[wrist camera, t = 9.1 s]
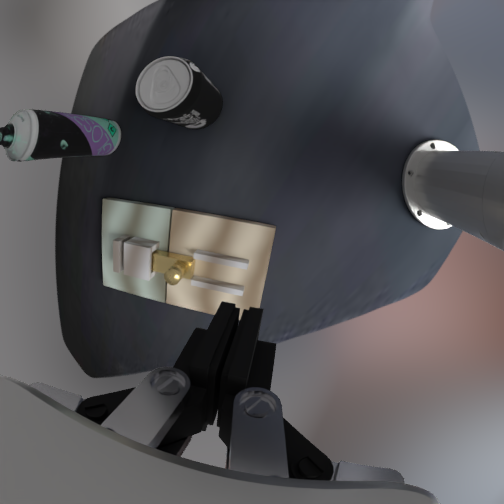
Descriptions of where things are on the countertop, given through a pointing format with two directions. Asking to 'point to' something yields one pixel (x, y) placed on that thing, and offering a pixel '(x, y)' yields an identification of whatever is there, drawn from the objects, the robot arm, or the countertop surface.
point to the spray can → (57, 135)
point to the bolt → (172, 266)
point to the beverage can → (178, 93)
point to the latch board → (185, 254)
